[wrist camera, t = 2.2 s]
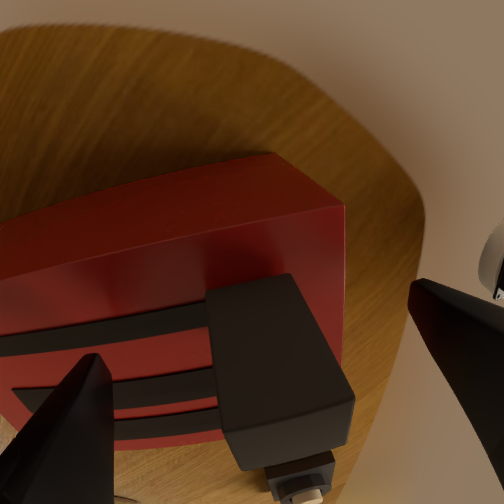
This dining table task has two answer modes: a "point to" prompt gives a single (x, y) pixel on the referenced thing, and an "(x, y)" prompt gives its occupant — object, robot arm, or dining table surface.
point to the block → (301, 476)
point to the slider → (274, 374)
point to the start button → (308, 497)
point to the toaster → (159, 287)
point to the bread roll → (124, 501)
